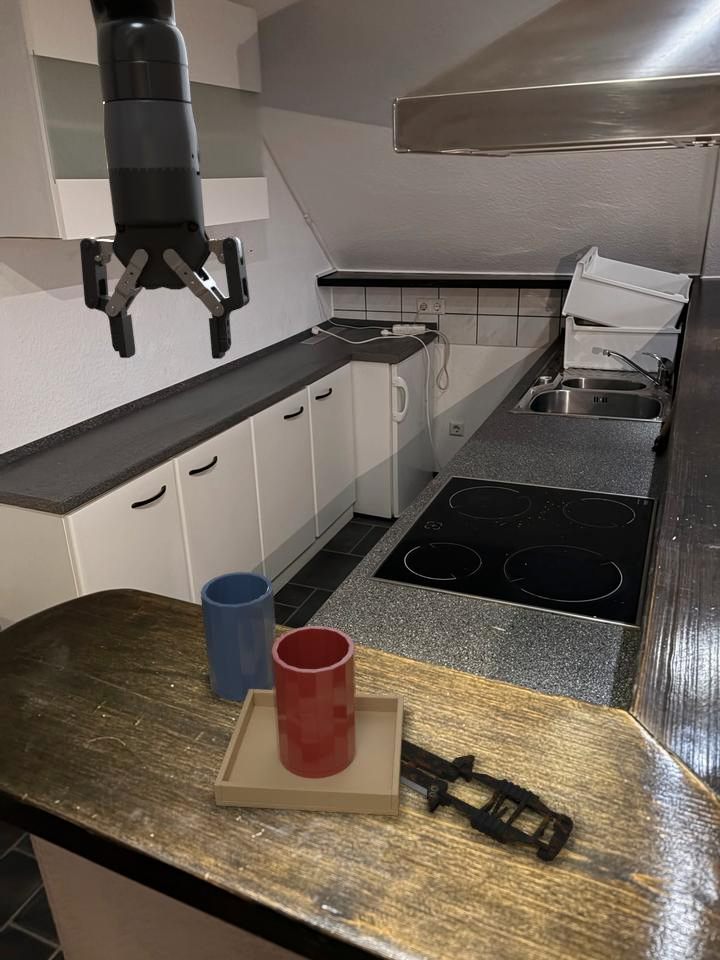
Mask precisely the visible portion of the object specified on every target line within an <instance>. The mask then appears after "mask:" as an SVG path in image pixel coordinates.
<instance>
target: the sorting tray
mask: <svg viewBox="0 0 720 960" xmlns="http://www.w3.org/2000/svg"><path fill="white" fill-rule="evenodd" d="M404 697H405V696H404V695H401V694H400V695H399V694H398V695H397V694H375V693H374V694H373V693H356V726H357V744H356V755H355V758H354V760H353V761H352V763H351V764H350V765H349V766H348V767H347V768H346V769H344V770H343V771H341V772H340V773H338V774H335V775H333V776H329V777H325V778H305V777H300V776H297V775H295V774H293V773H291V772H289V771H288V770H287V769H285V767H284V766H283V765H282V764H281V762H280V760H279V756H278V749H277V738H276V723H275V708H274V692H273V689H272V690H261V689H255V690H254V689H249V691H248V693H247V696H246V699H245V701H243V704H242V707H241V710H240V713H239V716H238V718H237V720H236V724H235V726H234V729H233V732H232V735H231V737H230V740H229V743H228V746H227V748H226V751H225V754H224V757H223V759H222V762H221V764H220V768H219V770H218V773H217V775H216V778H215V781H214V784H213V788H214V789H213V790H214V798H215V799H214V800H215V806H219V807H235V808H236V807H238V808H252V809H253V808H255V809H272V810H290V811H291V810H292V811H307V812H309V811H310V812H324V813H325V812H326V813H341V814H342V813H343V814H344V813H345V814H360V815H378V816H395V817H396V816H397V817H398V816H399V807H400V806H399V803H400V789H401V788H400V786H401V782H400V767H401V761H402V759H401V749H402V739H403V733H404V731H403V730H404V729H403V728H404V715H405V712H404V705H405V703H404V702H405V700H404V699H405V698H404Z"/></svg>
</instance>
